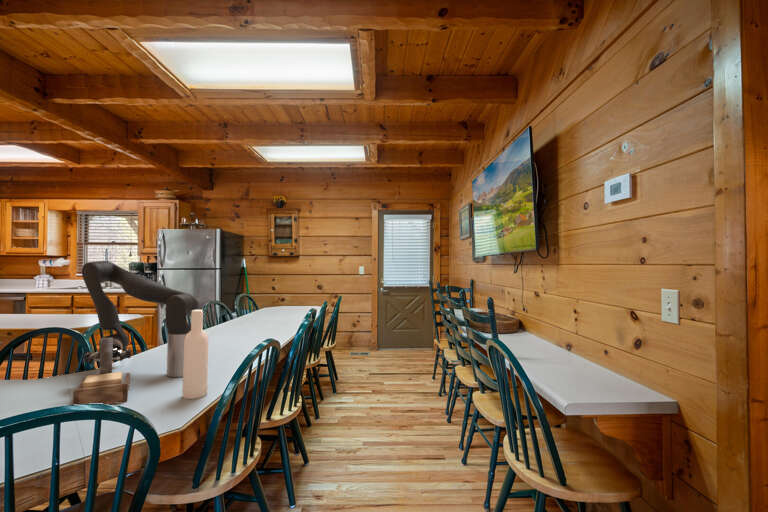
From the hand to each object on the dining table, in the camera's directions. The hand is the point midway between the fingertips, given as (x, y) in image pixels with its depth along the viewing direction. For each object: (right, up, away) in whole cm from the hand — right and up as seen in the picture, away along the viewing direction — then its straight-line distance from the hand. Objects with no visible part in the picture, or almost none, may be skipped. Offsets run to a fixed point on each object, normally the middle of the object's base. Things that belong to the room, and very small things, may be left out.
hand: (106, 359), depth 137 cm
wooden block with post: (+4, -10, -7) cm, 13 cm away
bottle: (+34, -12, -4) cm, 36 cm away
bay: (+3, -11, -6) cm, 13 cm away
